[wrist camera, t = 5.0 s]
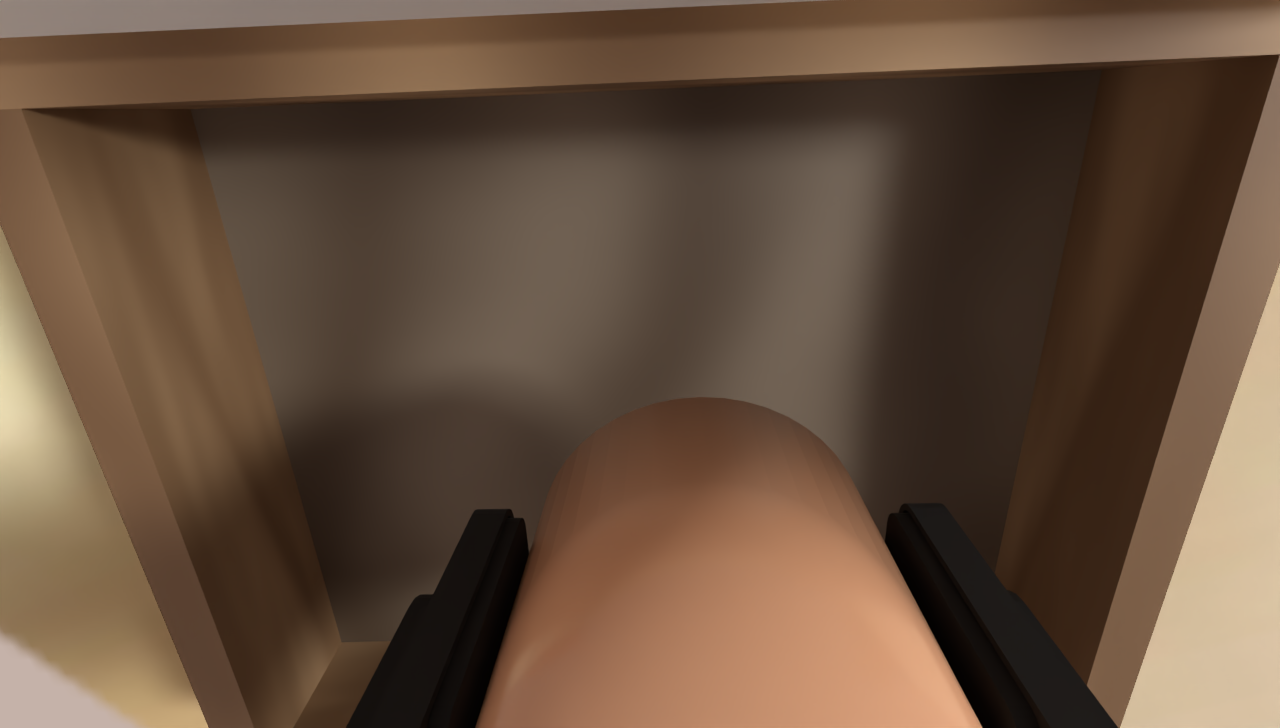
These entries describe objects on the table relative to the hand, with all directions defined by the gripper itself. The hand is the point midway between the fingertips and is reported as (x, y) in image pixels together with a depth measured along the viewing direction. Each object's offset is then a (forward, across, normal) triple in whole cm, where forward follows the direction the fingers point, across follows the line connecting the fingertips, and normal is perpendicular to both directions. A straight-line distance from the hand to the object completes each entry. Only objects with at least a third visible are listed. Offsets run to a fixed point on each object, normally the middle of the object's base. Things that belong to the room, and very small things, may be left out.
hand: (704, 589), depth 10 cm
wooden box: (+6, +1, 0) cm, 6 cm away
